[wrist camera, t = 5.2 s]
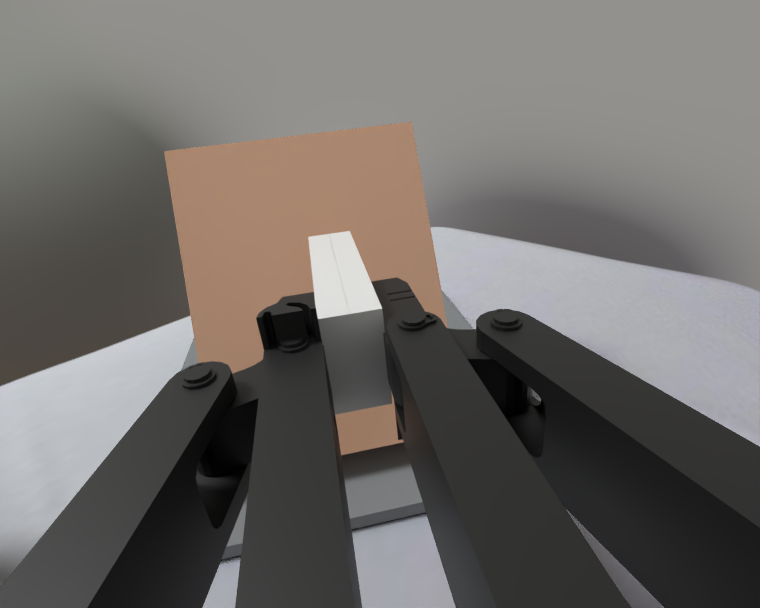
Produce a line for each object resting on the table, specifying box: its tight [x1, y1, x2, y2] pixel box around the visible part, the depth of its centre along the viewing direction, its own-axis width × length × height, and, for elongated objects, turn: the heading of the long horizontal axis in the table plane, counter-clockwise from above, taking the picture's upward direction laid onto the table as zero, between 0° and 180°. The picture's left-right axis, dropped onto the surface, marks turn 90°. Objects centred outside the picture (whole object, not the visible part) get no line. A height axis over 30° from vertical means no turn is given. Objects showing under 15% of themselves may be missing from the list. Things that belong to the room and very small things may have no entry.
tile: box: [164, 122, 448, 455], centre depth 19 cm, size 10×3×13 cm, turn 100°
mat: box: [181, 290, 472, 560], centre depth 25 cm, size 18×18×1 cm
